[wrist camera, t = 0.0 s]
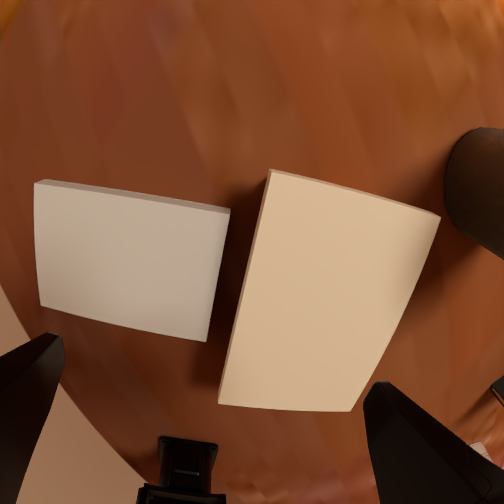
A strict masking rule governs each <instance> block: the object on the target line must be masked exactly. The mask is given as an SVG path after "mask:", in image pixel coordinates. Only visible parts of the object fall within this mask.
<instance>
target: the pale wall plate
mask: <svg viewBox="0 0 504 504" xmlns="http://www.w3.org/2000/svg"><path fill="white" fill-rule="evenodd" d="M229 218H230V208H225V207H219V206H214V205H208V204H203V203H197V202H191V201H185V200H180V199H174V198H168V197H162V196H156V195H150V194H144V193H137V192H131V191H125V190H118V189H112V188H105V187H98V186H91V185H84V184H77V183H70V182H63V181H55V180H48V179H44V180H41V181H39V182H36V183H34V235H35V254H36V267H37V278H38V287H39V296H40V303H41V306H45V307H48V308H52V309H55V310H59V311H63V312H67V313H70V314H74V315H78V316H82V317H86V318H90V319H94V320H98V321H102V322H107V323H111V324H115V325H120V326H124V327H129V328H134V329H138V330H143V331H148V332H153V333H158V334H163V335H169V336H174V337H179V338H185V339H191V340H197V341H203V342H206V340H207V334H208V328H209V323H210V317H211V312H212V306H213V301H214V295H215V290H216V285H217V279H218V274H219V269H220V264H221V258H222V253H223V248H224V243H225V238H226V233H227V228H228V223H229Z"/></svg>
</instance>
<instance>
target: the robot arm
mask: <svg viewBox="0 0 504 504" xmlns="http://www.w3.org/2000/svg"><path fill="white" fill-rule="evenodd" d="M64 365H65V352H64V346H63V340H62V337H61V336H60V335H59V334H55V333H52V332H46V333H44V334H42V335H40V336H38V337H36V338H35V339H33V340H31V341H29V342H27V343H25V344H23V345H21V346H19V347H17V348H16V349H14V350H12V351H10V352H8V353H6V354H4V355H2V356H1V357H0V504H16V501H17V498H18V494H19V491H20V488H21V485H22V482H23V479H24V476H25V473H26V470H27V468H28V465H29V462H30V459H31V456H32V454H33V451H34V448H35V446H36V443H37V441H38V438H39V436H40V433H41V430H42V428H43V426H44V423H45V421H46V419H47V416H48V414H49V411H50V409H51V405H52V403H53V400H54V396H55V393H56V390H57V386H58V383H59V380H60V377H61V374H62V371H63V368H64ZM363 411H364V418H365V426H366V434H367V442H368V448H369V453H370V458H371V462H372V466H373V471H374V475H375V480H376V485H377V489H378V494H379V499H380V504H504V470H503V469H501V468H500V467H498V466H497V465H495V464H494V463H492V462H491V461H489V460H488V459H486V458H485V457H483V456H482V455H481V454H479V453H478V452H477V451H475V450H474V449H473V448H472V447H470V446H469V445H466V443H465V442H464V441H463V440H461V439H460V438H459V437H458V436H456V435H455V434H454V433H452V432H451V431H450V430H449V429H447V428H446V427H445V426H444V425H442V424H441V423H440V422H439V421H437V420H436V419H435V418H434V417H432V416H431V415H430V414H428V413H427V412H426V411H425V410H423V409H422V408H421V407H420V406H418V405H417V404H416V403H415V402H413V401H412V400H411V399H410V398H408V397H407V396H406V395H405V394H403V393H402V392H401V391H400V390H398V389H397V388H396V387H395V386H393V385H392V384H391V383H390V382H388V381H376V382H375V383H374V384H373V385H372V387H371V389H370V390H369V392H368V394H367V395H366V397H365V399H364V401H363ZM217 452H218V445H216V444H210V443H202V442H195V441H188V440H182V439H175V438H170V437H160V464H161V470H160V477H159V484H158V486H154V485H150V484H148V483H144V487H142V488H139V491H138V496H137V501H136V504H226V494H211V471H212V469H213V466H214V462H215V459H216V455H217Z"/></svg>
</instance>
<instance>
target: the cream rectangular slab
mask: <svg viewBox="0 0 504 504" xmlns="http://www.w3.org/2000/svg"><path fill="white" fill-rule="evenodd" d="M440 219H441V217H439V216H438V215H436V214H434V213H432V212H430V211H427V210H424V209H421V208H417V207H414V206H411V205H408V204H404V203H401V202H398V201H394V200H391V199H388V198H384V197H381V196H377V195H374V194H370V193H367V192H363V191H359V190H356V189H352V188H348V187H345V186H341V185H337V184H333V183H329V182H325V181H321V180H317V179H313V178H309V177H304V176H300V175H296V174H292V173H287V172H283V171H278V170H274V169H269V172H268V177H267V181H266V185H265V190H264V194H263V198H262V203H261V207H260V211H259V216H258V220H257V224H256V229H255V233H254V238H253V242H252V246H251V251H250V255H249V259H248V264H247V268H246V272H245V277H244V281H243V286H242V290H241V294H240V299H239V303H238V307H237V312H236V316H235V321H234V325H233V329H232V334H231V338H230V342H229V347H228V351H227V356H226V360H225V364H224V369H223V373H222V378H221V382H220V386H219V391H218V404H226V405H235V406H244V407H254V408H266V409H280V410H299V411H351V409H352V407H353V406H354V404H355V403H356V401H357V399H358V398H359V396H360V394H361V393H362V391H363V389H364V387H365V386H366V384H367V382H368V380H369V379H370V377H371V375H372V373H373V372H374V370H375V368H376V366H377V364H378V362H379V361H380V359H381V357H382V355H383V353H384V351H385V349H386V347H387V345H388V343H389V341H390V339H391V337H392V335H393V333H394V331H395V329H396V327H397V325H398V323H399V321H400V319H401V317H402V315H403V312H404V310H405V308H406V306H407V304H408V302H409V299H410V297H411V295H412V292H413V290H414V288H415V285H416V283H417V281H418V278H419V276H420V273H421V271H422V268H423V266H424V263H425V261H426V258H427V256H428V253H429V250H430V248H431V245H432V242H433V240H434V237H435V234H436V231H437V228H438V225H439V222H440Z"/></svg>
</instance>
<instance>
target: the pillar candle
mask: <svg viewBox="0 0 504 504" xmlns="http://www.w3.org/2000/svg"><path fill="white" fill-rule="evenodd" d="M444 188H445V203H446V209H447V212H448V213H449V215H450V217H451V219H452V221H453V224H454V225H455V227H456V228H457V229H458V230H459V231H460V232H461V233H463V234H464V235H465V236H467V237H469V238H471V239H472V240H474V241H475V242H477V243H478V244H480V245H482V246H483V247H485V248H486V249H488V250H489V251H491V252H492V253H494V254H495V255H497V256H498V257H500V258H502V259H503V260H504V129H496V128H488V127H486V128H483V127H480V128H478V129H475V130H473V131H471V132H470V133H468V134H467V135H466V136H464V137H463V138H462V139H461V141H459V143H458V144H457V145H456V147H455V148H454V150H453V153H452V154H451V157H450V159H449V163H448V165H447V171H446V175H445V185H444Z"/></svg>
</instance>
